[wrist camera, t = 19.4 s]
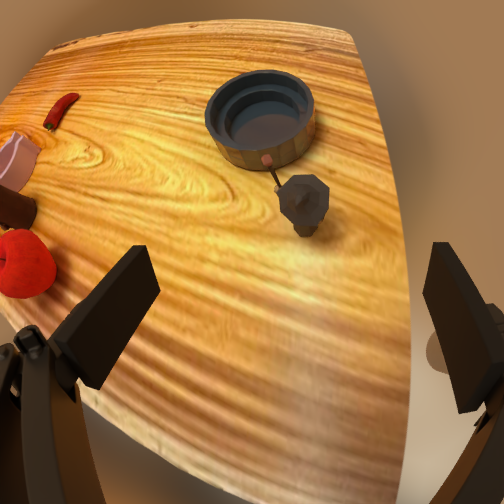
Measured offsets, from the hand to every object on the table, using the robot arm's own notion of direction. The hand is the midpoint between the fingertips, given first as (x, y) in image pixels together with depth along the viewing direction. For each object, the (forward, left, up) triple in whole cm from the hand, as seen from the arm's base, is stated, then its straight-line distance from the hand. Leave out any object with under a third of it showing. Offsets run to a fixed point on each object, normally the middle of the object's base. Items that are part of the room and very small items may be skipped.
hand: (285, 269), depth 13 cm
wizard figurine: (+6, -10, -26) cm, 28 cm away
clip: (+74, +5, -26) cm, 78 cm away
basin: (+17, -22, -26) cm, 38 cm away
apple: (+43, +16, -26) cm, 53 cm away
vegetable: (+70, -15, -26) cm, 76 cm away
